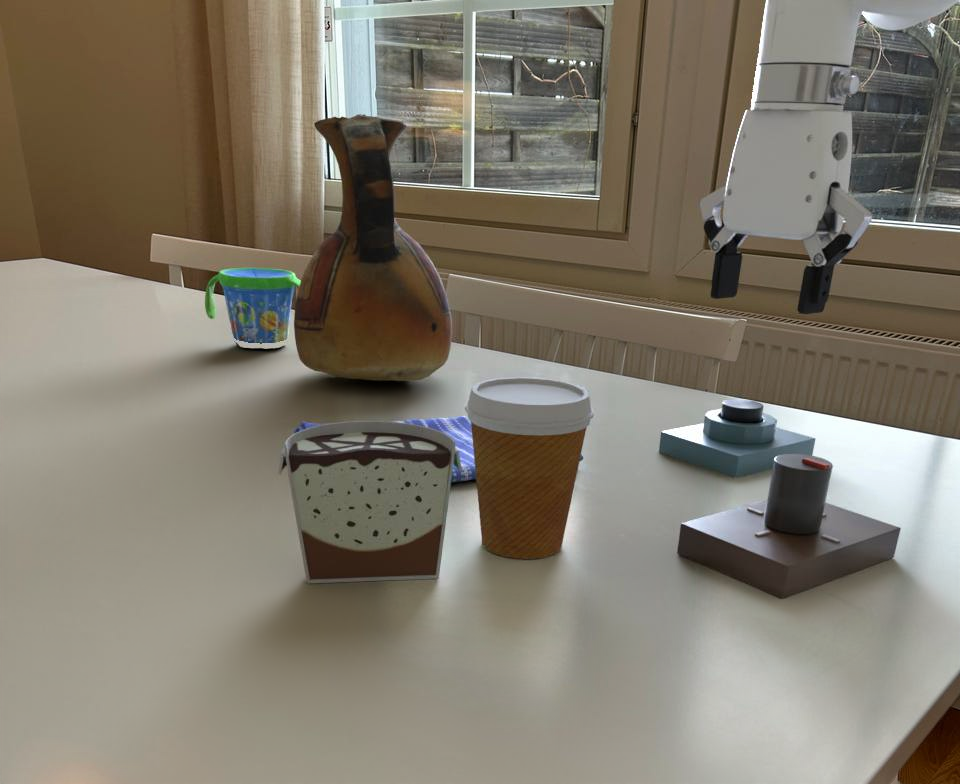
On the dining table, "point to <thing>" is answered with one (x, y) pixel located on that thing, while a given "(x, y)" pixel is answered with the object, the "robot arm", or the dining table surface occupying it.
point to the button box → (733, 444)
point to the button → (741, 411)
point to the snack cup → (255, 302)
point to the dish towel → (452, 427)
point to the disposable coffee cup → (526, 460)
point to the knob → (797, 493)
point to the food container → (370, 499)
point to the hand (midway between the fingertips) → (765, 304)
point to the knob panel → (786, 547)
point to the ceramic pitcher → (370, 273)
